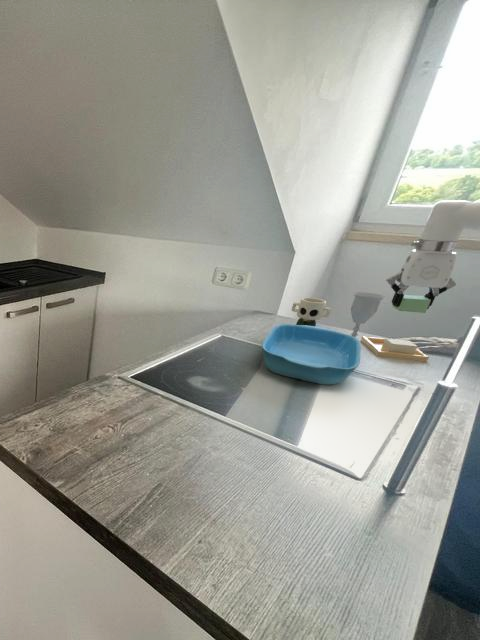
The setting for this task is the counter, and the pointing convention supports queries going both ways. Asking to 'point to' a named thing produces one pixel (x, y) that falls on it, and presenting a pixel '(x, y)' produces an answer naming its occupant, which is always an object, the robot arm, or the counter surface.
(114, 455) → the counter surface
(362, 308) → the chalice
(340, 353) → the casserole dish
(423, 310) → the green block
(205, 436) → the counter surface
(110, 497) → the counter surface
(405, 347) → the beige block
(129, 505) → the counter surface
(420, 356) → the backing tray
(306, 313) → the character mug
